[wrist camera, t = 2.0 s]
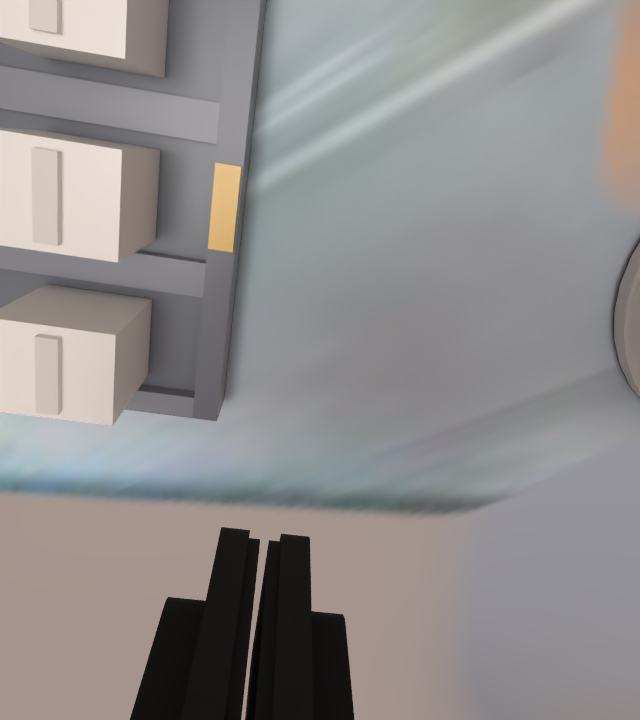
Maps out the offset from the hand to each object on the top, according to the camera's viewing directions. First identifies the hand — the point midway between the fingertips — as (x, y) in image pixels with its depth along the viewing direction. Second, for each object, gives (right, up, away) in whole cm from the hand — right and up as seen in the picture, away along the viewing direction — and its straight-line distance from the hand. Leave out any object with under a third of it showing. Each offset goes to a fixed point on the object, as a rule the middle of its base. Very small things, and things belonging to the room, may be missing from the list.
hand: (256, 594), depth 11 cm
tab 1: (-6, +16, +8) cm, 19 cm away
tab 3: (-7, +6, +12) cm, 15 cm away
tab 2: (-7, +11, +10) cm, 16 cm away
